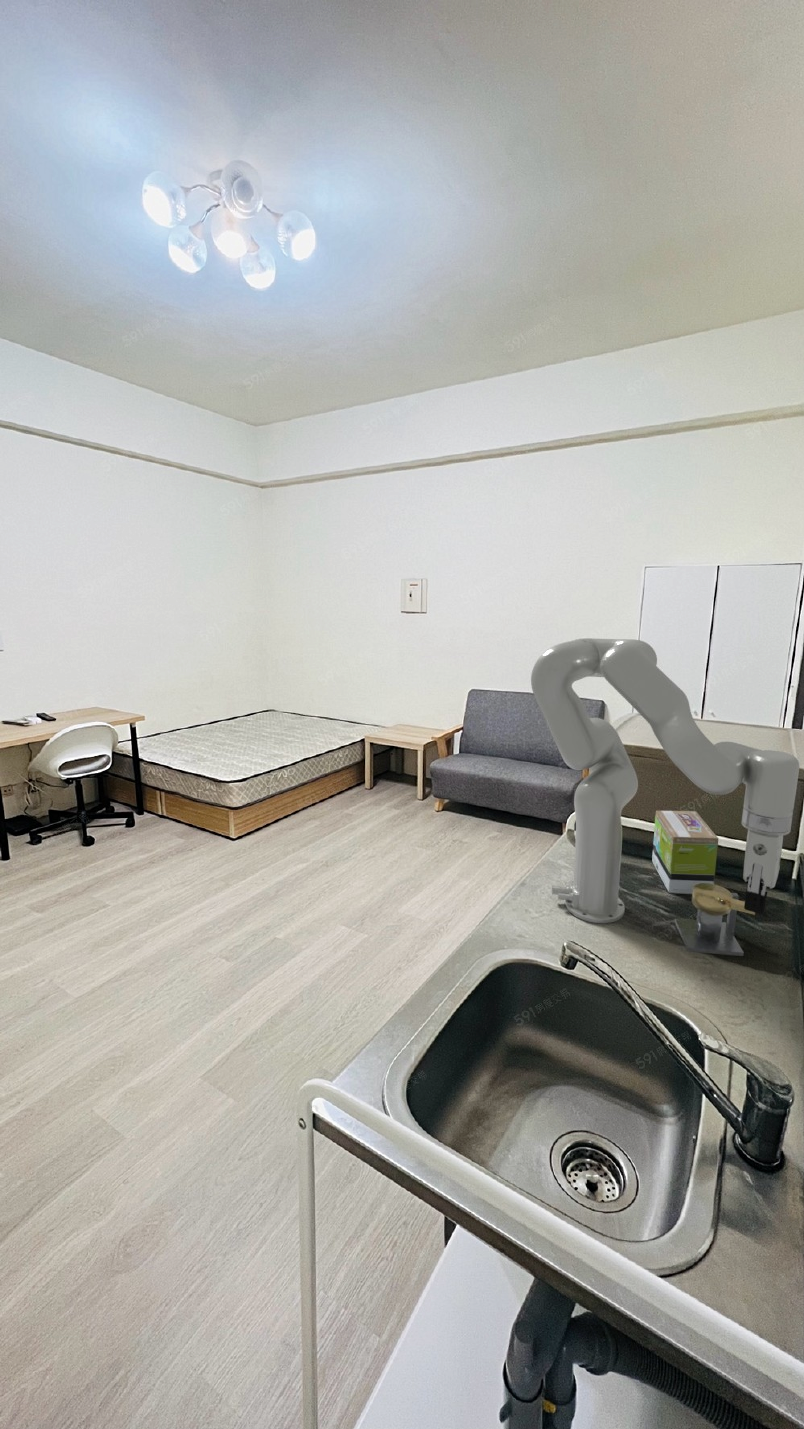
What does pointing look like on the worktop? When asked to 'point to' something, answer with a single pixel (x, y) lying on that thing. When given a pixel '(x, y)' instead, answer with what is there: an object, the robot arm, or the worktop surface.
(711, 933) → the grey crank stand
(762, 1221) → the worktop surface
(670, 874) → the tea box
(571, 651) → the robot arm
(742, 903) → the crank with handle
